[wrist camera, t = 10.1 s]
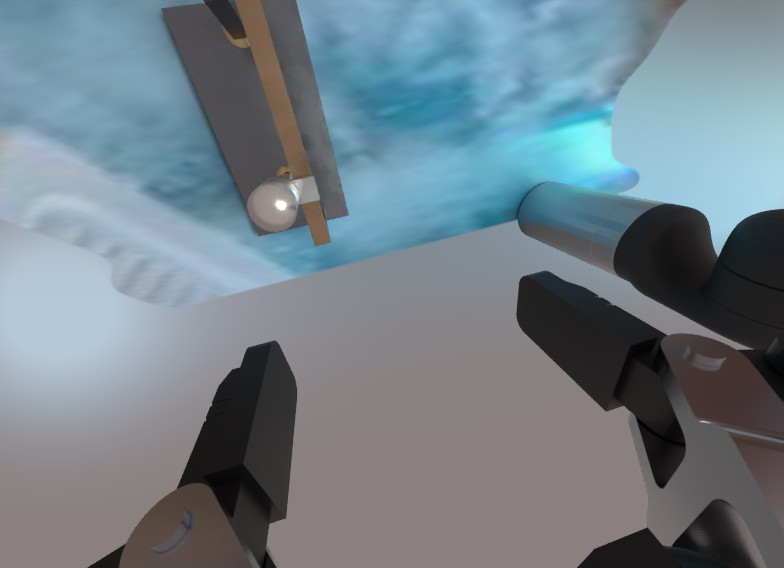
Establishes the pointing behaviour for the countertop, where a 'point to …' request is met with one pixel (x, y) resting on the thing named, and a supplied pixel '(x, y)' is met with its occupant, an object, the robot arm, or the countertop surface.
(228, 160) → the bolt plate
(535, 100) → the countertop surface
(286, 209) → the grey elongated rounded piece
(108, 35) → the countertop surface
